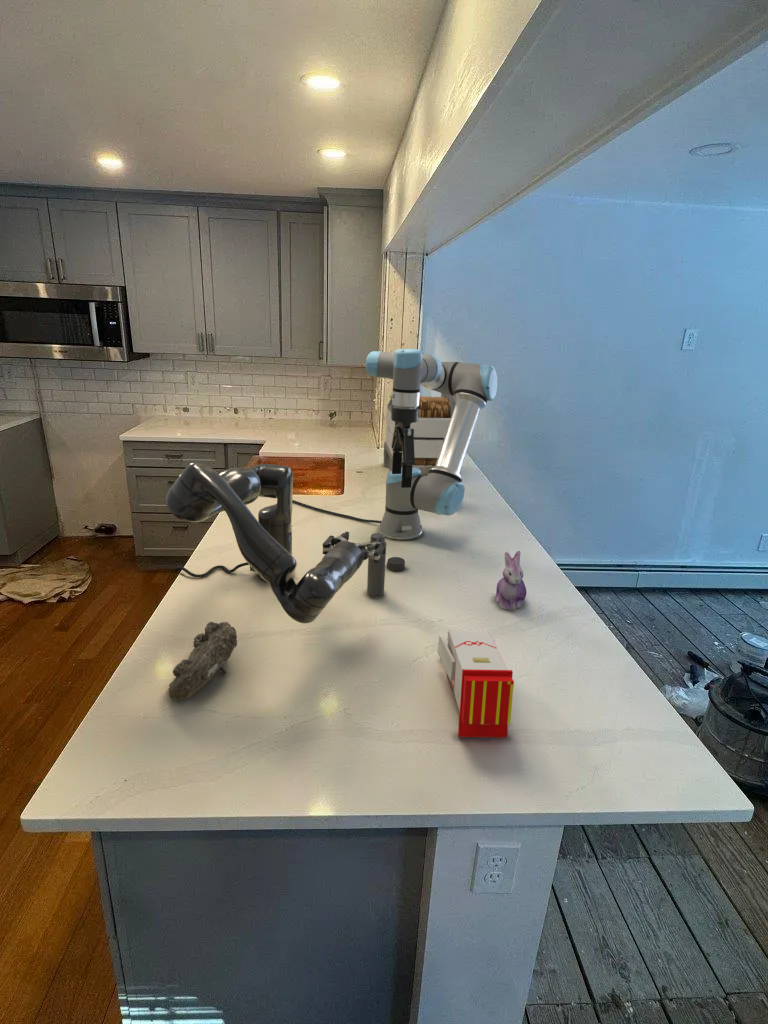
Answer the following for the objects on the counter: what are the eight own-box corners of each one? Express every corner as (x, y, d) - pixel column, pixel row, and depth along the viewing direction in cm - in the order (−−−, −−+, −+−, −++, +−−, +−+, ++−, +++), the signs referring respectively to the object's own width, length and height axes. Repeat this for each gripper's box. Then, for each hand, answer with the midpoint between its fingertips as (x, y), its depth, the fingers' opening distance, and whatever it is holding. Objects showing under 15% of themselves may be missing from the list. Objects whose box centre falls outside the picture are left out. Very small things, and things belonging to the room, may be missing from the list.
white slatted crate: (382, 463, 289) (386, 382, 275) (445, 464, 293) (451, 384, 279) (390, 482, 257) (394, 392, 243) (460, 483, 261) (468, 394, 247)
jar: (367, 598, 155) (369, 539, 149) (366, 589, 159) (368, 532, 153) (384, 597, 155) (387, 539, 149) (383, 589, 160) (385, 532, 154)
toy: (488, 613, 130) (523, 677, 101) (484, 667, 133) (517, 744, 104) (435, 612, 130) (455, 676, 101) (432, 666, 133) (451, 743, 103)
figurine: (508, 614, 149) (515, 562, 144) (485, 597, 158) (490, 547, 153) (536, 607, 153) (543, 557, 148) (511, 591, 162) (518, 542, 157)
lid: (396, 562, 177) (396, 555, 177) (408, 568, 174) (408, 561, 173) (383, 566, 174) (383, 559, 173) (395, 573, 170) (395, 565, 169)
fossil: (191, 624, 130) (237, 594, 125) (220, 652, 133) (266, 624, 128) (146, 693, 111) (199, 661, 106) (181, 724, 114) (234, 694, 109)
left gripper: (310, 573, 128) (336, 547, 143) (370, 584, 124) (391, 556, 139) (310, 543, 125) (337, 519, 140) (371, 553, 122) (392, 527, 136)
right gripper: (383, 399, 168) (381, 468, 175) (401, 415, 145) (397, 493, 152) (408, 400, 170) (404, 468, 177) (429, 415, 146) (424, 493, 154)
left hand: (364, 537), depth 139 cm, fingers open, 8 cm apart
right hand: (401, 480), depth 165 cm, fingers open, 13 cm apart
